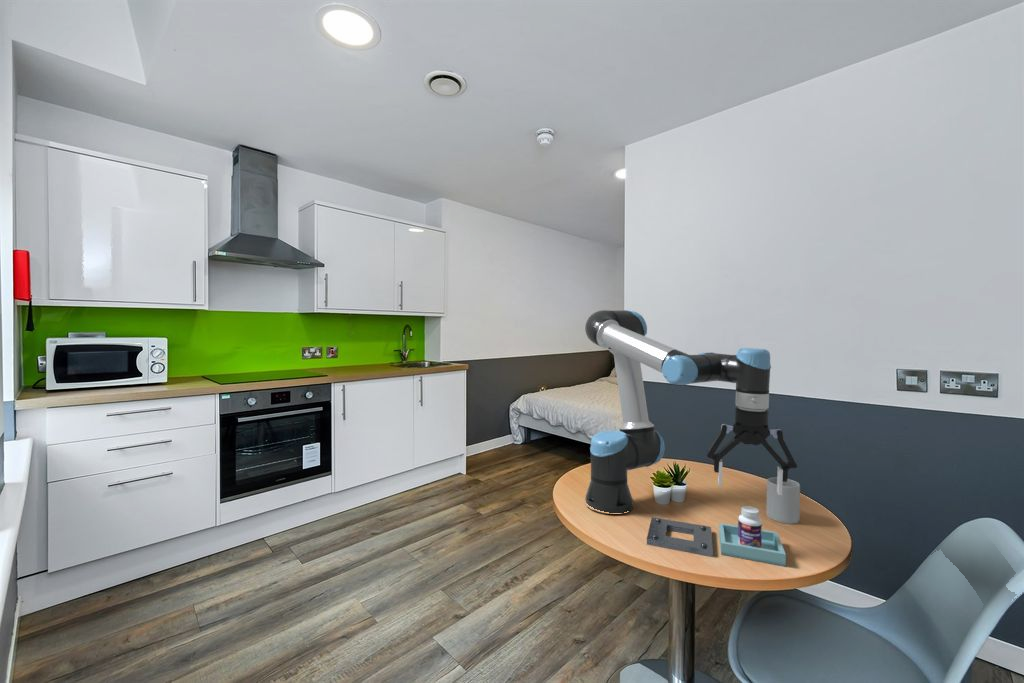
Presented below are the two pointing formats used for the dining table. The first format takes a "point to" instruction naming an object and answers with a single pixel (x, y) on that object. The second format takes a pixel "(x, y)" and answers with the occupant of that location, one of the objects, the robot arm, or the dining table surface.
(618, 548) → the dining table surface
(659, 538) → the plate
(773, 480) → the mug
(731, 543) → the tray
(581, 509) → the dining table surface
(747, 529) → the pill bottle
